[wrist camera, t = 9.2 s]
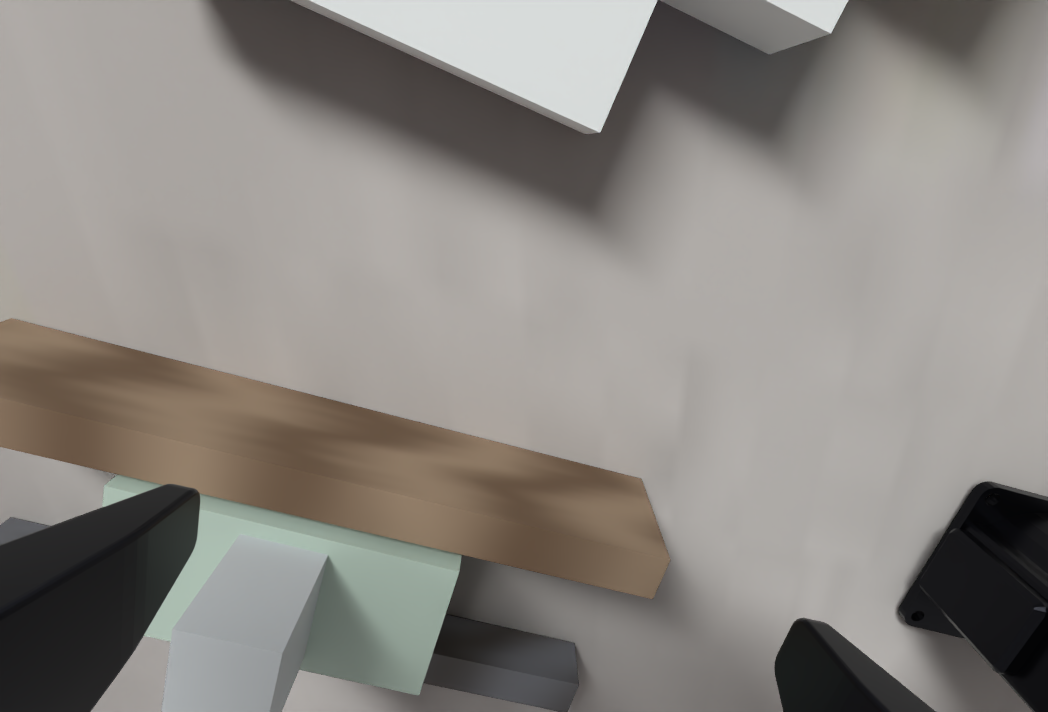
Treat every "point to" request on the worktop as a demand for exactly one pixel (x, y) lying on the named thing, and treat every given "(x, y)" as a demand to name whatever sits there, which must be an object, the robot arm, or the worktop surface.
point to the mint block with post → (293, 607)
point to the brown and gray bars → (340, 483)
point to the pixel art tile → (562, 41)
